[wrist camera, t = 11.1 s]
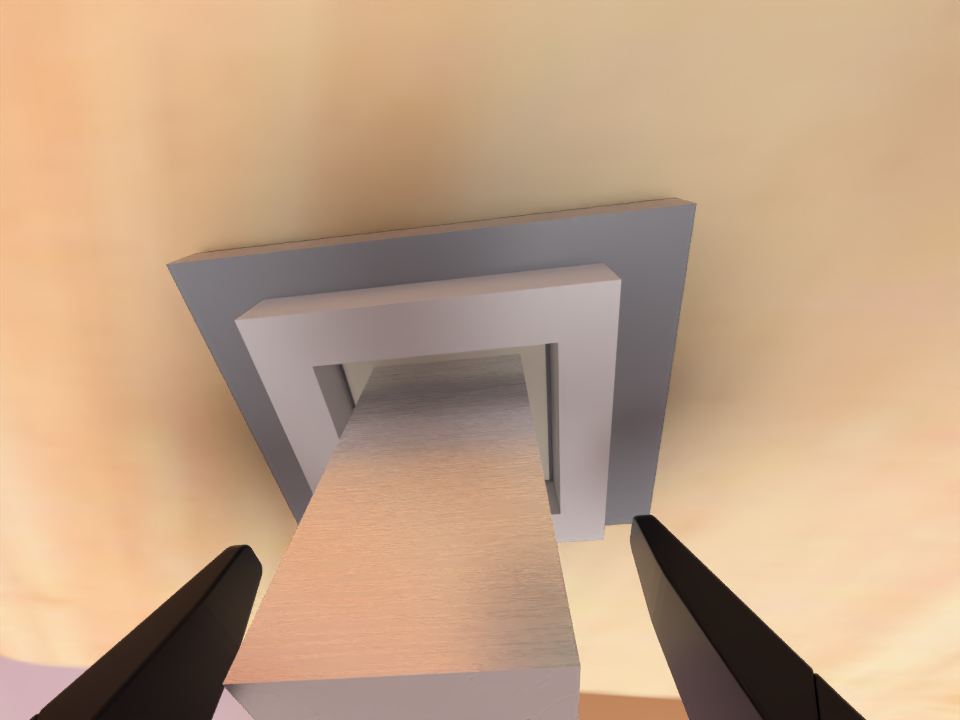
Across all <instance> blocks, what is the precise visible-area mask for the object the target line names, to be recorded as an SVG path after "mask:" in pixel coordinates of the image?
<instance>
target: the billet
mask: <svg viewBox="0 0 960 720" xmlns="http://www.w3.org/2000/svg"><path fill="white" fill-rule="evenodd" d="M222 685H223V686H224V687H225V688H226V689H227V690H228V691H229V692H230V693H231V694H232V695H233V697H234V698H235V699H236V700H237V701H238V702H239V703H240V704H241V705H242V706H243V708H245V710H246V711H247V712H248V713H249V714H250V715H251V716H252V717H253V718H254V720H578V710H579V688H580V661H579V656H578V651H577V646H576V641H575V635H574V630H573V625H572V620H571V615H570V610H569V604H568V599H567V594H566V589H565V584H564V578H563V573H562V568H561V563H560V558H559V553H558V547H557V542H556V537H555V532H554V527H553V521H552V516H551V511H550V506H549V501H548V496H547V490H546V485H545V480H544V475H543V470H542V464H541V459H540V454H539V449H538V444H537V439H536V433H535V428H534V423H533V418H532V413H531V408H530V402H529V397H528V392H527V387H526V382H525V376H524V371H523V366H522V361H521V356H520V354H515V355H504V356H493V357H482V358H472V359H461V360H450V361H439V362H428V363H417V364H406V365H395V366H384V367H374V368H373V370H372V373H371V375H370V377H369V379H368V381H367V383H366V385H365V387H364V389H363V391H362V393H361V396H360V398H359V400H358V402H357V404H356V406H355V408H354V410H353V412H352V414H351V416H350V419H349V421H348V423H347V425H346V427H345V429H344V431H343V433H342V435H341V437H340V440H339V442H338V444H337V446H336V448H335V450H334V452H333V454H332V456H331V458H330V460H329V463H328V465H327V467H326V469H325V471H324V473H323V475H322V477H321V479H320V481H319V483H318V486H317V488H316V490H315V492H314V494H313V496H312V498H311V500H310V502H309V504H308V506H307V509H306V511H305V513H304V515H303V517H302V519H301V521H300V523H299V525H298V527H297V529H296V532H295V534H294V536H293V538H292V540H291V542H290V544H289V546H288V548H287V550H286V552H285V555H284V557H283V559H282V561H281V563H280V565H279V567H278V569H277V571H276V573H275V575H274V578H273V580H272V582H271V584H270V586H269V588H268V590H267V592H266V594H265V596H264V598H263V601H262V603H261V605H260V607H259V609H258V611H257V613H256V615H255V617H254V619H253V621H252V624H251V626H250V628H249V630H248V632H247V634H246V636H245V638H244V640H243V642H242V644H241V647H240V649H239V651H238V653H237V655H236V657H235V659H234V661H233V663H232V665H231V667H230V670H229V672H228V674H227V676H226V678H225V680H224V682H223V684H222Z"/></svg>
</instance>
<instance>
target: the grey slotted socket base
mask: <svg viewBox="0 0 960 720" xmlns="http://www.w3.org/2000/svg"><path fill="white" fill-rule="evenodd" d="M695 209H696V203H692V202H689V201H685V200H681V199H677V198H670V199H662V200H653V201H645V202H636V203H627V204H619V205H610V206H601V207H593V208H584V209H576V210H567V211H558V212H550V213H541V214H532V215H524V216H515V217H507V218H498V219H489V220H481V221H472V222H463V223H455V224H446V225H438V226H429V227H420V228H412V229H403V230H395V231H386V232H377V233H369V234H360V235H351V236H343V237H334V238H326V239H317V240H308V241H300V242H291V243H282V244H274V245H265V246H257V247H248V248H239V249H231V250H222V251H213V252H205V253H196V254H193V255H190V256H187V257H185V258H182V259H179V260H177V261H174V262H172V263H169V264H166V265H167V267H168V269H169V271H170V273H171V275H172V277H173V279H174V281H175V283H176V285H177V287H178V289H179V291H180V293H181V295H182V297H183V299H184V301H185V303H186V305H187V306H188V308H189V310H190V312H191V314H192V316H193V318H194V320H195V322H196V324H197V326H198V328H199V330H200V332H201V334H202V336H203V338H204V340H205V342H206V344H207V346H208V348H209V350H210V352H211V354H212V356H213V358H214V360H215V362H216V364H217V366H218V368H219V370H220V372H221V373H222V375H223V377H224V379H225V381H226V383H227V385H228V387H229V389H230V391H231V393H232V395H233V397H234V399H235V401H236V403H237V405H238V407H239V409H240V411H241V413H242V415H243V417H244V419H245V421H246V423H247V425H248V427H249V429H250V431H251V433H252V435H253V437H254V439H255V441H256V442H257V444H258V446H259V448H260V450H261V452H262V454H263V456H264V458H265V460H266V462H267V464H268V466H269V468H270V470H271V472H272V474H273V476H274V478H275V480H276V482H277V484H278V486H279V488H280V490H281V492H282V494H283V496H284V498H285V500H286V502H287V504H288V506H289V508H290V509H291V511H292V513H293V515H294V517H295V519H296V521H297V523H298V525H299V523H300V521H301V519H302V517H303V515H304V513H305V511H306V509H307V506H308V504H309V502H310V500H311V498H312V496H313V494H314V492H315V490H316V488H317V486H318V483H319V481H320V479H321V477H322V475H323V473H324V471H325V469H326V467H327V465H328V463H329V460H330V458H331V456H332V454H333V452H334V450H335V448H336V446H337V444H338V442H339V440H340V437H341V435H342V433H343V431H344V429H345V427H346V425H347V423H348V421H349V419H350V416H351V414H352V412H353V410H354V408H355V406H356V404H357V402H358V400H359V398H360V396H361V393H362V391H363V389H364V387H365V385H366V383H367V381H368V379H369V377H370V375H371V373H372V370H373V368H374V367H384V366H395V365H406V364H417V363H428V362H439V361H450V360H461V359H472V358H482V357H493V356H504V355H515V354H520V356H521V361H522V366H523V371H524V376H525V382H526V387H527V392H528V397H529V402H530V408H531V413H532V418H533V423H534V428H535V433H536V439H537V444H538V449H539V454H540V459H541V464H542V470H543V475H544V480H545V485H546V490H547V496H548V501H549V506H550V511H551V516H552V521H553V527H554V532H555V537H556V542H557V543H561V542H575V541H589V540H603V539H604V525H617V524H631V523H632V520H633V517H634V516H636V515H650V508H651V502H652V495H653V488H654V482H655V475H656V469H657V462H658V455H659V449H660V442H661V435H662V429H663V422H664V415H665V409H666V402H667V395H668V389H669V382H670V376H671V369H672V362H673V356H674V349H675V342H676V336H677V329H678V322H679V316H680V309H681V302H682V296H683V289H684V283H685V276H686V269H687V263H688V256H689V249H690V243H691V236H692V229H693V223H694V216H695Z"/></svg>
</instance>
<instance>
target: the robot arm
mask: <svg viewBox="0 0 960 720" xmlns="http://www.w3.org/2000/svg"><path fill="white" fill-rule="evenodd" d="M630 544H631V549H632V553H633V557H634V560H635V564H636V567H637V571H638V575H639V578H640V582H641V585H642V589H643V593H644V596H645V600H646V603H647V607H648V611H649V614H650V617H651V621H652V624H653V627H654V629H655V632H656V635H657V637H658V640H659V643H660V645H661V648H662V650H663V653H664V655H665V658H666V661H667V663H668V666H669V668H670V671H671V674H672V676H673V679H674V681H675V684H676V686H677V689H678V692H679V694H680V697H681V699H682V702H683V704H684V707H685V709H686V712H687V715H688V717H689V720H866V719H865V718H864V717H863V716H862V715H860V714H859V713H858V712H857V711H856V710H855V709H854V708H853V707H852V706H851V705H850V704H849V703H848V702H847V701H845V700H844V699H843V698H842V697H841V696H840V695H839V694H838V693H837V692H836V691H835V690H834V689H833V688H832V687H831V686H830V685H829V684H828V683H827V682H826V681H825V680H824V679H823V678H822V677H820V676H819V675H818V674H816V673H813V669H812V668H811V667H810V666H809V665H808V664H807V663H806V662H805V661H804V660H803V659H802V658H801V657H800V656H798V655H797V654H796V653H795V652H794V651H793V650H792V649H791V648H790V647H789V646H788V645H787V644H786V643H785V642H784V641H783V640H782V639H781V638H780V637H779V636H778V635H777V634H776V633H775V632H774V631H773V630H772V629H771V628H769V627H768V626H767V625H766V624H765V623H764V622H763V621H762V620H761V619H760V618H759V617H758V616H757V615H756V614H755V613H754V612H753V611H752V610H751V609H750V608H749V607H748V606H747V605H746V604H745V603H744V602H743V601H741V600H740V599H739V598H738V597H737V596H736V595H735V594H734V593H733V592H732V591H731V590H730V589H729V588H728V587H727V586H726V585H725V584H724V583H723V582H722V581H721V580H720V579H719V578H718V577H717V576H716V575H715V574H713V573H712V572H711V571H710V570H709V569H708V568H707V567H706V566H705V565H704V564H703V563H702V562H701V561H700V560H699V559H698V558H697V557H696V556H695V555H694V554H693V553H692V552H691V551H690V550H689V549H688V548H687V547H685V546H684V545H683V544H682V543H681V542H680V541H679V540H678V539H677V538H676V537H675V536H674V535H673V534H672V533H671V532H670V531H669V530H668V529H667V528H666V527H665V526H664V525H663V524H662V523H661V522H660V521H659V520H657V519H656V518H655V517H654V516H652V515H636V516H634V517H633V520H632V527H631V536H630ZM261 576H262V565H261V563H260V561H259V560H258V558H257V556H256V555H255V553H254V552H253V550H252V548H251V547H250V546H249V545H234V546H230V547H228V548H227V549H225V550H224V551H223V552H222V553H221V554H220V555H218V556H217V557H216V558H215V559H214V560H213V561H212V562H210V563H209V564H208V565H207V566H206V567H205V568H204V569H202V570H201V571H200V572H199V573H198V574H197V575H195V576H194V577H193V578H192V579H191V580H190V581H189V582H187V583H186V584H185V585H184V586H183V587H182V588H181V589H179V590H178V591H177V592H176V593H175V594H174V595H172V596H171V597H170V598H169V599H168V600H167V601H166V602H164V603H163V604H162V605H161V606H160V607H159V608H158V609H156V610H155V611H154V612H153V613H152V614H151V615H150V616H148V617H147V618H146V619H145V620H144V621H143V622H141V623H140V624H139V625H138V626H137V627H136V628H135V629H133V630H132V631H131V632H130V633H129V634H128V635H127V636H125V637H124V638H123V639H122V640H121V641H120V642H118V643H117V644H116V645H115V646H114V647H113V648H112V649H110V650H109V651H108V652H107V653H106V654H105V655H104V656H102V657H101V658H100V659H99V660H98V661H97V662H96V663H94V664H93V665H92V666H91V667H90V668H89V669H87V670H86V671H85V672H84V673H83V674H82V675H81V676H79V677H78V678H77V679H76V680H75V681H74V682H73V683H71V684H70V685H69V686H68V687H67V688H66V689H65V690H63V691H62V692H61V693H60V694H59V695H58V696H57V697H55V698H54V699H53V700H52V701H51V702H50V703H48V704H47V705H46V706H45V707H44V708H43V709H42V710H41V711H40V713H39V714H36V715H34V716H33V717H32V718H31V719H30V720H212V718H213V715H214V713H215V710H216V707H217V705H218V702H219V699H220V697H221V695H222V692H223V690H224V686H223V685H222V684H223V682H224V680H225V678H226V676H227V674H228V672H229V670H230V667H231V665H232V663H233V661H234V659H235V657H236V655H237V653H238V651H239V649H240V646H241V643H242V640H243V637H244V634H245V630H246V627H247V624H248V620H249V617H250V613H251V610H252V607H253V603H254V600H255V597H256V593H257V590H258V587H259V583H260V580H261Z"/></svg>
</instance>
